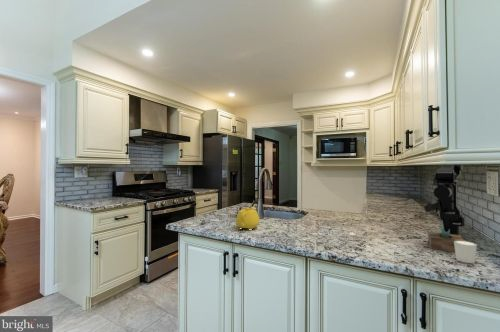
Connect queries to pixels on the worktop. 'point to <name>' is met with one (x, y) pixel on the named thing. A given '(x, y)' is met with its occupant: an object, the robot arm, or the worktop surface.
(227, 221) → the worktop surface
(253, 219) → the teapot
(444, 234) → the peg
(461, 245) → the white cup
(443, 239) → the socket block
